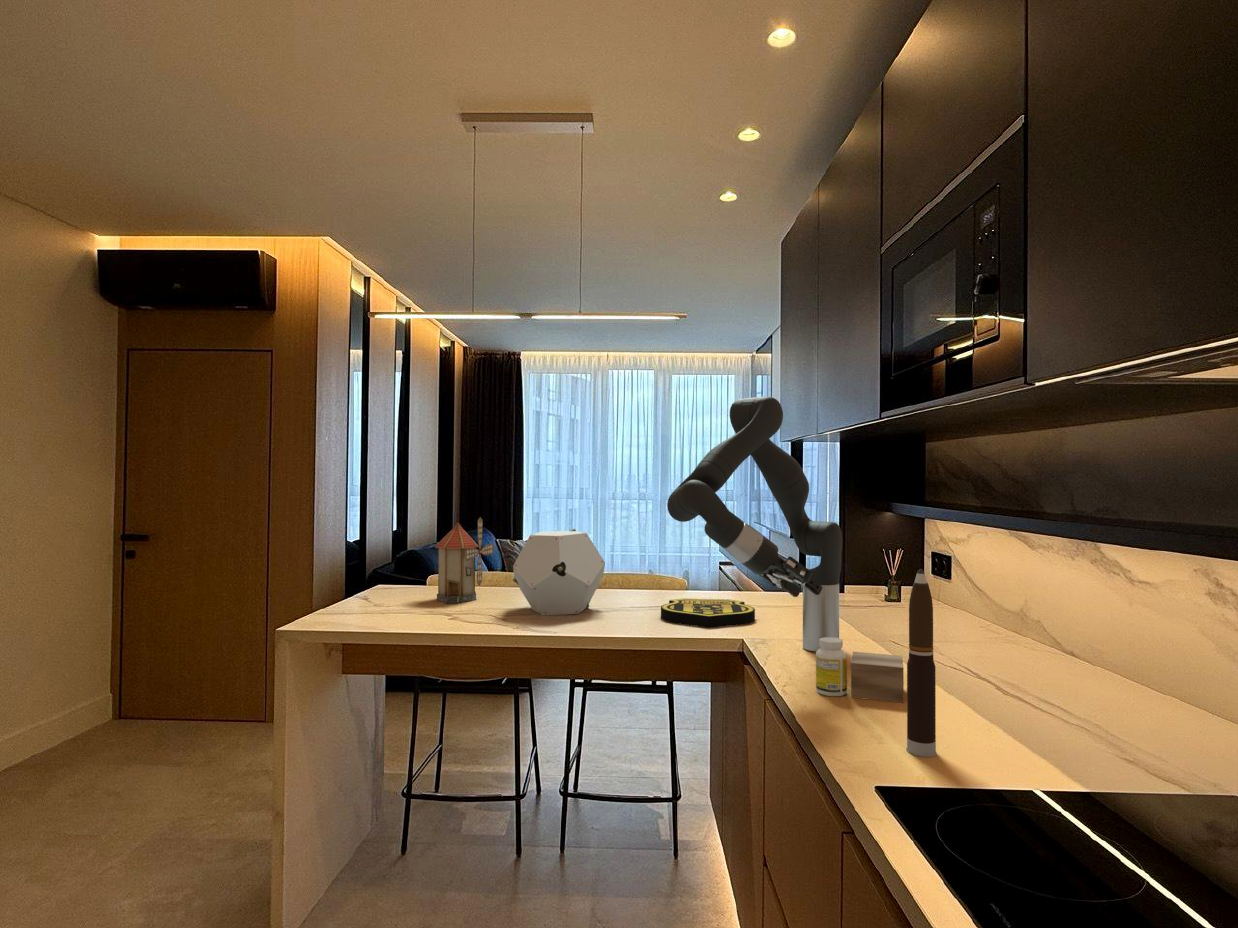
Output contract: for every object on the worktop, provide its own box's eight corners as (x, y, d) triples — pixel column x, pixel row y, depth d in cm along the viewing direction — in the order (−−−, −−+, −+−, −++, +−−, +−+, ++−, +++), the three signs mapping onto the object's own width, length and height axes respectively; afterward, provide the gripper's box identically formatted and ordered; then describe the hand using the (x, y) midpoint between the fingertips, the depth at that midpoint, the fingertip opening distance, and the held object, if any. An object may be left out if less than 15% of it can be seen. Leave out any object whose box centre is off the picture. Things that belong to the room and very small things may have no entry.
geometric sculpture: (604, 627, 244) (633, 556, 233) (532, 644, 224) (560, 567, 212) (557, 574, 263) (583, 506, 251) (487, 585, 243) (511, 512, 231)
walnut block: (852, 683, 155) (852, 651, 155) (902, 688, 151) (902, 655, 152) (850, 697, 146) (850, 662, 146) (903, 702, 142) (903, 667, 142)
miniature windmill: (482, 606, 244) (483, 518, 245) (425, 606, 244) (426, 518, 245) (493, 594, 269) (494, 514, 269) (441, 594, 268) (442, 514, 269)
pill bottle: (833, 686, 153) (833, 635, 153) (853, 694, 147) (853, 641, 147) (809, 690, 150) (809, 637, 151) (829, 698, 145) (829, 644, 145)
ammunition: (929, 746, 119) (929, 567, 120) (941, 757, 115) (940, 570, 115) (902, 746, 119) (901, 566, 120) (912, 756, 115) (912, 570, 115)
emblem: (658, 615, 213) (662, 597, 243) (658, 627, 213) (662, 609, 243) (759, 617, 210) (750, 599, 240) (759, 630, 210) (750, 611, 240)
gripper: (775, 528, 145) (835, 575, 146) (743, 537, 158) (799, 580, 160) (757, 558, 142) (819, 606, 144) (726, 565, 155) (783, 608, 157)
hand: (808, 592), depth 152 cm, fingers open, 8 cm apart
